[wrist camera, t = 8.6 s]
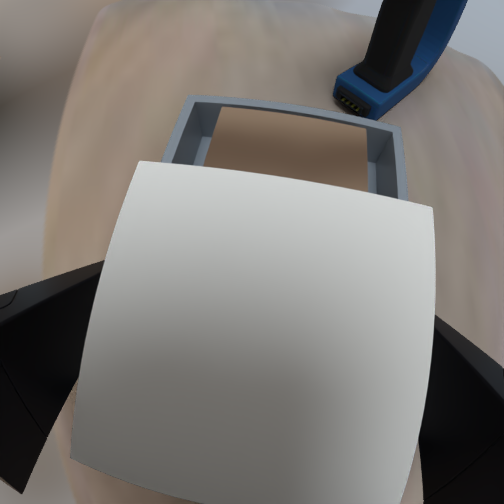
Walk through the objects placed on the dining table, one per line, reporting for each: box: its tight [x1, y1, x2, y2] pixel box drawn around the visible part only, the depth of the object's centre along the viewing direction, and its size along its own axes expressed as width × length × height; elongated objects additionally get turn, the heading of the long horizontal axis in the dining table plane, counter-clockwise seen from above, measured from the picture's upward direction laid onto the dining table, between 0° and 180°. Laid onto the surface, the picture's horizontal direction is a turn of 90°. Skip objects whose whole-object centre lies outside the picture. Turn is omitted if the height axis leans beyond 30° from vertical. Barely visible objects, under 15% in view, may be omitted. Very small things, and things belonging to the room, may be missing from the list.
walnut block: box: [203, 107, 368, 192], centre depth 17 cm, size 6×8×4 cm
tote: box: [161, 95, 408, 201], centre depth 16 cm, size 20×13×4 cm, turn 170°
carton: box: [70, 161, 435, 504], centre depth 10 cm, size 6×6×12 cm
